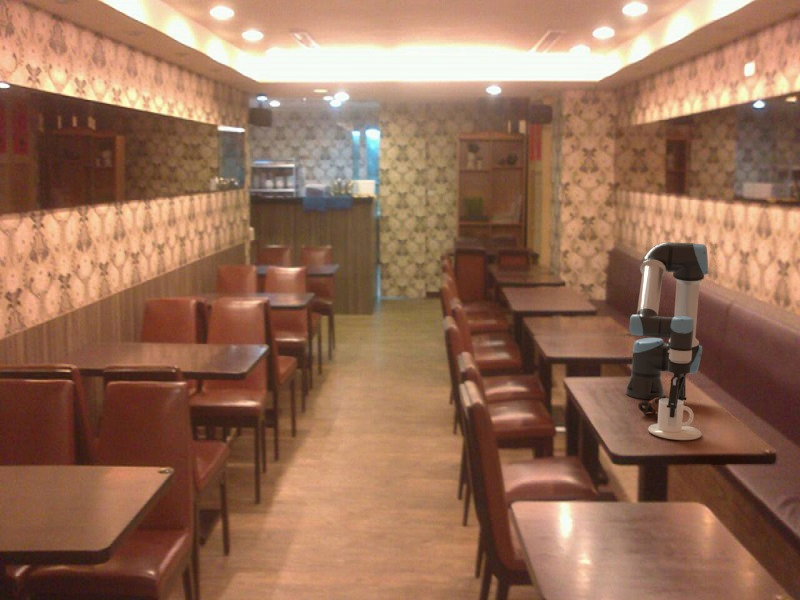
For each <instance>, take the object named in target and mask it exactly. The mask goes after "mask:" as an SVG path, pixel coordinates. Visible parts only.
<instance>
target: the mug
mask: <svg viewBox="0 0 800 600" xmlns="http://www.w3.org/2000/svg"><path fill="white" fill-rule="evenodd" d="M668 401H669V397H665V398H664V397H663V399H660V400H659V402H658V407H659V410H658V413H657V416H658V419H657V424H658V429H659V430H661V431H664V432H671V433H675V432H679V431H681V429H682V426H690V425H691V424H692V422H693V421H694V418H695V417H694V416H695V415H694V412H693V410H692V408H690V407H689V406H687V405H684V406H683V401H684V400H683V401H681V400H678V402H677V421H676V427H674V426H668V415H669V408H667V405H668ZM684 411H687V412H688V415H689V418H688V420H687V421H685V422H684V421H683V419H682V417H683V418H684Z"/></svg>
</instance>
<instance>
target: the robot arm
mask: <svg viewBox="0 0 800 600" xmlns="http://www.w3.org/2000/svg"><path fill="white" fill-rule="evenodd" d="M708 258H709V257H708V247H707V246H706V245H705V244H702V243H701V244H700V243H695V242H671V241H665V242H659V243H658V244H655V245H654V246H652V247H650V249H649V250H648V251H647V252H646V253H645V254H644V256H643V258H642V260H641V263H640V267H639V268H640V273H641V282H640V289H639V295H638V303H637V310H636V314H631V315H630V318H629V328H628V329H629V333H630V335H633V336H637V337H638V336H640V337H645V338H639V339H637V340H635V341H634V342H633V349H632V352H631V353H632V362H631V363H632V364H631V374H630V378H629V380H628V383H627V385H626V387H625V394H626V395H627V396H629V397H632V398H635V399H636V398H637V399H642V400H653V399H654V398H663V399H664V396H665V389H664V386H663V385H664V384H663V382H662V372H664V373H665V372H666V373H672V374H673V376H672V377H671V379H670V387H669V395H668V398H669V401H668V405H667V408H669V415H668V426H674V427H676V421H677V402H678V400H681V401H683V406H685V401H687V397H686V393H687V392H686V389H687V388H686V378H687V374H689V375H690V374H691V375H695V374H696V373H697V372H698V371H699V367H700V363H701V358H702V353H703V346H702V345H701V344H700V341H699V340H698V339H697V337H696V333H697V321H698V309H699V294H700V293H699V292H700V283H701V282H702V281H703V280H704V279H705V275H709V259H708ZM666 273H672V278H673V279H674V280H675V282H676V285H675V287H676V289H675V302H674V316H673V317H670V316H660V315H659V309H660V300H661V291H662V283H663V282H662V281H663V276H665V274H666ZM663 338H664V339H665V338H667V339H668V342H665V341H664V339H663ZM683 418H684V416H683V417H682V420H683Z"/></svg>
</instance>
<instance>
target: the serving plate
mask: <svg viewBox="0 0 800 600" xmlns="http://www.w3.org/2000/svg"><path fill="white" fill-rule="evenodd" d="M648 432H649V433H650V434H652V435H653V436H656V437H659V438H663V439H669V440H674V441H675V440H676V441H691V440H693V441H694V440H697V439H699V438H701V437H702V431H700V430H699V429H698V428H696V427H693V426H690V425H688V426H682V429H681V431H679V432H675V433H671V432H664V431H661V430H659V429H658V423H654V424H650V425H649V426H648Z"/></svg>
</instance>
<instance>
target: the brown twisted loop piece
mask: <svg viewBox="0 0 800 600" xmlns="http://www.w3.org/2000/svg"><path fill="white" fill-rule="evenodd" d="M660 399H664V397H663V398H654V399H650V400H649V401H646V400H641V401H639V403H637V405H638V410H640V411H641V412H642V413H643V415H646V416H647V414H648V413H652V414H656V413H657V414H658V410H659V405H658V404H659V400H660ZM643 406H644V407H643ZM656 419H657V420H658V415H657V416H656Z"/></svg>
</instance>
